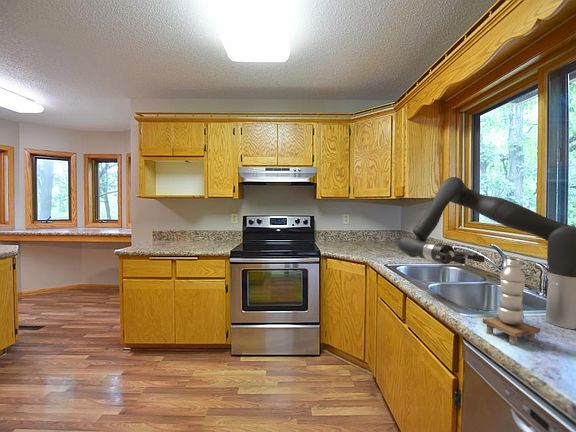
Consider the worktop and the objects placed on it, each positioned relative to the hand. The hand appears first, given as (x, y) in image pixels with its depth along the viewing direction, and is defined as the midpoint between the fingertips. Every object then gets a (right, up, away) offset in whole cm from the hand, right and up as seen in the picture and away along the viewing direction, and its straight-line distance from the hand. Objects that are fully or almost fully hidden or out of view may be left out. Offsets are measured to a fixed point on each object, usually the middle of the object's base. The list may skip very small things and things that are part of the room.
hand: (474, 260), depth 101 cm
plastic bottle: (+4, -18, -11) cm, 21 cm away
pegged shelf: (+4, -22, -11) cm, 25 cm away
